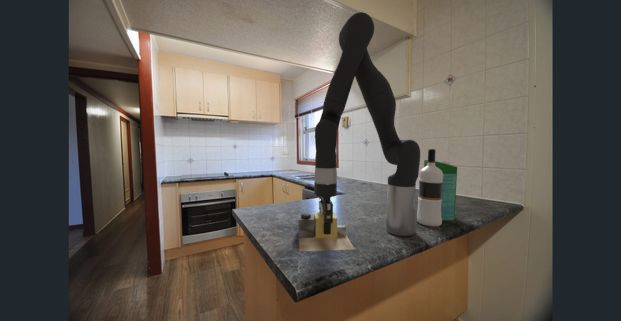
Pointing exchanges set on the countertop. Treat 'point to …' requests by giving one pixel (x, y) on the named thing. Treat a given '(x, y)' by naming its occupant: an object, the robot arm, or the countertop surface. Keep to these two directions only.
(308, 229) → the peg board base
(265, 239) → the countertop surface
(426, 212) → the vodka
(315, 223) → the yellow cube with hole
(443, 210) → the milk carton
